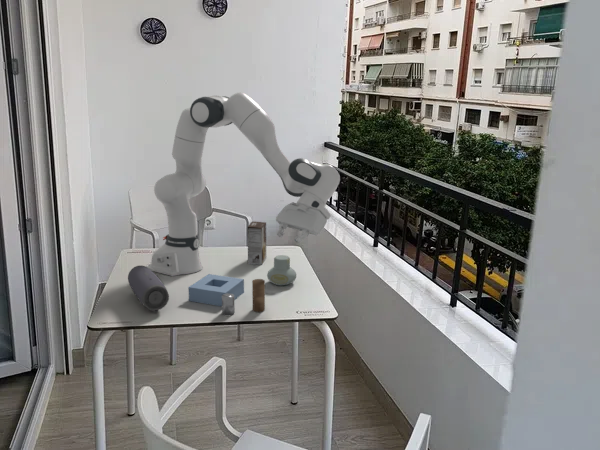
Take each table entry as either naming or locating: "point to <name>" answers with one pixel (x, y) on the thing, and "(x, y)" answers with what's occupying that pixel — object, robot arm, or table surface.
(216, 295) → the collar block
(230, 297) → the short pin
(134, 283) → the bluetooth speaker
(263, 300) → the long pin
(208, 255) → the table surface
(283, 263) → the air freshener
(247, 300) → the table surface
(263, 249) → the coffee box
